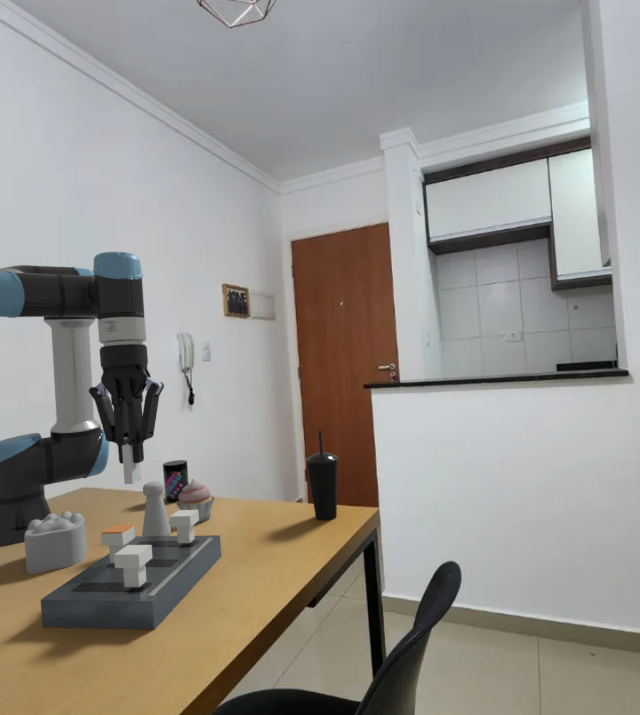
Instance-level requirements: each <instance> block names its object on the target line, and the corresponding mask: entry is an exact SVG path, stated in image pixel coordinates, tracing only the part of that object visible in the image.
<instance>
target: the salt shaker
mask: <svg viewBox="0 0 640 715" xmlns="http://www.w3.org/2000/svg"><path fill="white" fill-rule="evenodd" d="M163 493H165V487H164V482H162V481H158V480H155V481H150V482H147V483H145V484H144V485H143V487H142V494H143V495H144V496H146V498H145V505H144V507H145V509H144V516H143V517H144V518H143V525H142V532H141V533H142V534H141V536H171V530H172V529H171V528H172V527H170V519H169V517H168V512H167V508H166V506H165V501H164V499H163V498H164V497H163Z"/></svg>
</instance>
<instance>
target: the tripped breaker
mask: <svg viewBox="0 0 640 715" xmlns="http://www.w3.org/2000/svg"><path fill="white" fill-rule="evenodd" d="M135 536H136V531H135V526H134V524H113V525H111V526H110V527H108V528H106V529H104V530H102V531H101V534H100V541H101V546H102V547H108V550H109V553H110V563H115V561H114V554H116V553H117V552H119V551H120V550H121V549H123V548H124V547H126V546H127V545H129V542H130V541H131V540H133V539H134V538H135ZM109 553H108V554H109Z"/></svg>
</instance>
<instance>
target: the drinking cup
mask: <svg viewBox="0 0 640 715" xmlns="http://www.w3.org/2000/svg"><path fill="white" fill-rule="evenodd" d="M317 433H318V434H317V435H318V442H319V443H318V445H319V452H317V453H314V454H312V455H310V456H309V457H307V458H305V459H304V460H305V463H306V466H307V472H308V477H309V478H308V479H309V485H310V491H311V497H312V502H313V509H314V515H315V519H316V520H317V521H321V522H322V521H324V522H325V521H331V520H335V519H336V518H337V515H338V513H337V512H338V511H337V509H338V506H337V505H338V504H337V503H338V500H337V499H338V461H339V456H338V455H335V454H333V453H330V452H324V450H323V438H322V436H323V435H322V430H318V432H317Z"/></svg>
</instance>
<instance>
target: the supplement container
mask: <svg viewBox="0 0 640 715" xmlns="http://www.w3.org/2000/svg"><path fill="white" fill-rule="evenodd" d="M188 470H189V469H188V460H186V459H178V460H170V461H166V462H164V463H163V464H162V472H163V484H164V499H165V500H166V502H168V503H175V502H178V501H179V494H180V493H181V492H182V489H183V488H184V487H185V486H187V485H188V484H190V482H189V472H188Z"/></svg>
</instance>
